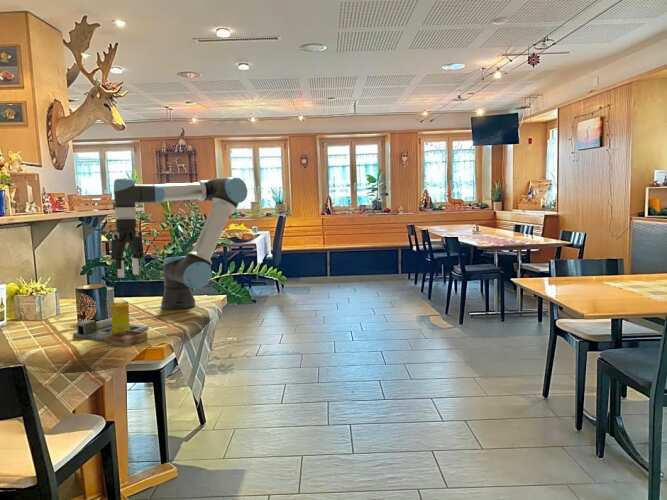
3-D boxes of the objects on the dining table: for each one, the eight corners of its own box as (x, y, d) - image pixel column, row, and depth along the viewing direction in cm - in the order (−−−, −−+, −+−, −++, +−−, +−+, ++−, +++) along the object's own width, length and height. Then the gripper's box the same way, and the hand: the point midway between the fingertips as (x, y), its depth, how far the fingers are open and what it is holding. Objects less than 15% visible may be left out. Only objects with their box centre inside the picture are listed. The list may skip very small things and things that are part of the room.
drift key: (118, 320, 197) (117, 313, 196) (123, 321, 195) (123, 314, 195) (87, 329, 184) (87, 321, 184) (93, 330, 183) (93, 322, 182)
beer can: (105, 321, 203) (103, 291, 202) (84, 319, 205) (83, 290, 203) (119, 315, 212) (118, 287, 211) (100, 314, 214) (98, 286, 213)
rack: (127, 336, 180) (126, 329, 179) (147, 339, 176) (147, 332, 175) (105, 343, 171) (104, 336, 171) (125, 347, 167) (125, 339, 167)
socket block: (113, 324, 196) (112, 312, 196) (148, 329, 189) (147, 316, 188) (73, 336, 180) (72, 323, 180) (109, 342, 173) (108, 328, 172)
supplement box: (112, 331, 187) (110, 303, 186) (129, 329, 189) (128, 301, 188) (112, 335, 181) (110, 306, 180) (130, 333, 184) (128, 304, 183)
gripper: (137, 217, 207) (140, 271, 209) (98, 219, 189) (101, 278, 191) (151, 217, 204) (154, 272, 206) (112, 219, 186) (115, 280, 188)
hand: (128, 275), depth 199 cm, fingers open, 7 cm apart
